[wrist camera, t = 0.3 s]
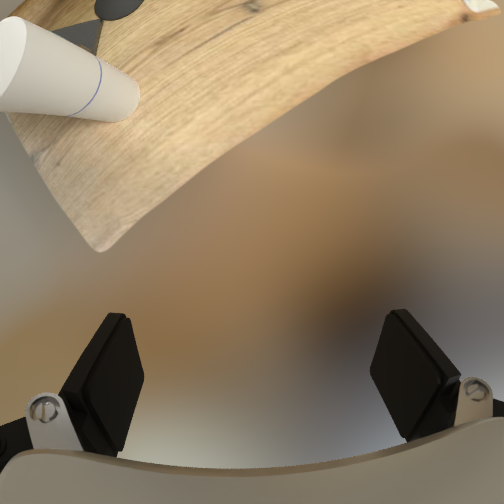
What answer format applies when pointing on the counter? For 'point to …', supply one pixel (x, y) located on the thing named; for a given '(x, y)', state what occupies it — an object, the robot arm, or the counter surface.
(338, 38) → the counter surface
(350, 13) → the counter surface
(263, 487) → the robot arm
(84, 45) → the grey square base plate
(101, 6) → the coaster
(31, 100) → the cylindrical container
